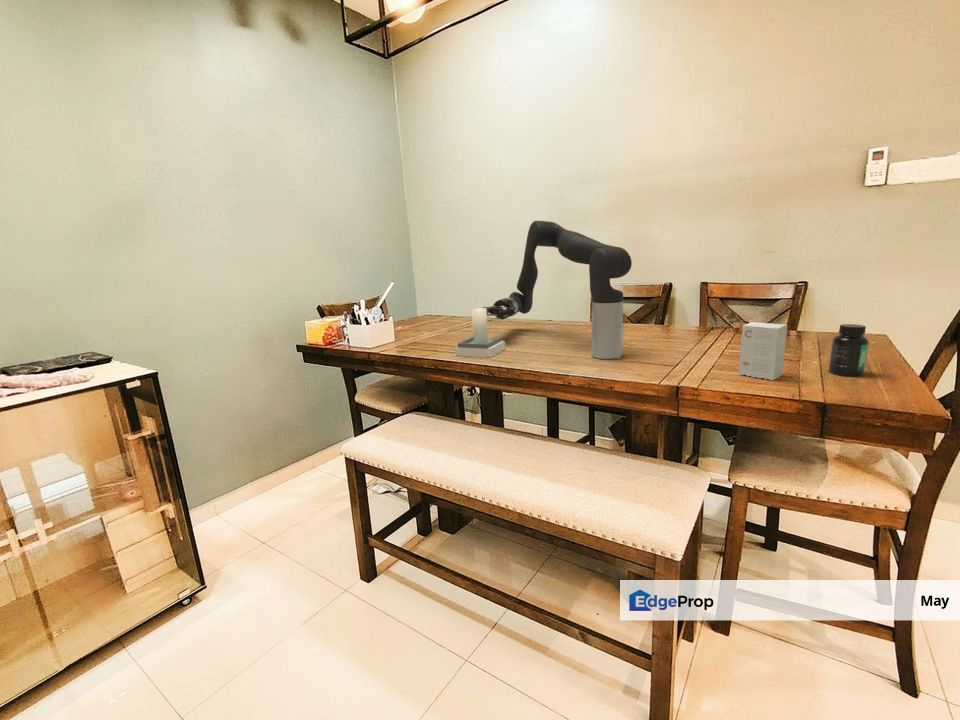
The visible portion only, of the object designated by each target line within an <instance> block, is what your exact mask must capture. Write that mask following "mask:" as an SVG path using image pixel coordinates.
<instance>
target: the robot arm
mask: <svg viewBox="0 0 960 720" xmlns="http://www.w3.org/2000/svg"><path fill="white" fill-rule="evenodd" d="M538 247H548V248H556V249H557V250H558V253H559V254H560V256H562V257H564V259H566V260H569V261H570V262H573V263H577V264H583V265H588V267H589V268H588V269H589V270H588V273H589V289H590V295H591V350H590V351H591V357H592V358H595V359H599V360H600V359H601V360H602V359H603V360H612V359H614V360H615V359H621V358H622V356H623V355H624V333H625V331H624V330H625V329H624V328H625V327H624V324H623V323H624V321H623V317H624V293H623V291H621V290H620V289H619V290H618V289H616V288H614V287H613V286H612V285H611V279H620V278H622V277H624V276H626V275H627V274H629V272H630V271H631V269H632V263H633V262H632V257H631V255H630V254H629V252H628V251H627V250H626V249H624V248H623V247H620V246H614V245H609V244H606V243H603V242H600V241H598V240H596V239H594V238H591V237H588V236H587V235H585V234H582V233H579V232H577V231H572V230H571V229H570V230H569V229H566V228H564V227H563V226H561V225H559V224H558V223H557V222H554V221H547V220H534V221H533V222H531V224H530V226H529V228H528V231H527V236H526V243H525V248H524V255H523V260H522V268H521V271H520V274H519V276H518V277H519V278H518V280H517V283H516V289H517V291H518V292H517V291H512V293H510V295H509V296H508V297H504V298H501V299H498V300H496V301H495V302H494V303H493V305H491V306H483V307H481V308H486V313H487V317H496V318H497V319H498V320H506V319H508V318H510V317H513V316H515V315H517V313H521V314H524V315H526V314H528V313H529V312H530V311H531V309H532V307H533V299H534V298H533V297H534V296H533V294H534V288H535V285H536V282H537V279H538V276H539V269H538V266H537V261H536V257H535V253H536V249H537V248H538Z"/></svg>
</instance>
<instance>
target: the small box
mask: <svg viewBox="0 0 960 720" xmlns="http://www.w3.org/2000/svg"><path fill="white" fill-rule="evenodd" d="M787 333H788V324H782V323H770V322H769V323H767V322H754V321H751V322H749V323H745V324H743V325H742V328H741V339H740V340H741V341H740V349H739V350H740V352H739V361H738V363H739V365H738V375H739V374H740V375H739V376H742V375H746V376H745V377H749V376H751V377H750V378H755V377H757V378H756V379H761V378H764V379H763V380H767V379H769V380H768V381H775V380H777V379H778V378H780V377H781V376H783V372H784V365H785V364H784V363H785V356H786V355H785V354H786V353H785V352H786V344H787V335H788V334H787ZM776 378H777V379H776ZM774 379H775V380H774Z"/></svg>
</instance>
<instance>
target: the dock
mask: <svg viewBox="0 0 960 720" xmlns="http://www.w3.org/2000/svg"><path fill="white" fill-rule="evenodd" d="M454 349H455V356H456V355H457V356H456V357H469V356H472V358H473V357H474V358H486V357H490V358H489V359H491V358H492V356H493V357H495V356H496V355H498V354H500V353H502V352H503V351H505V350H506V341H505V340H503V337H502V336H498V337H496V338H495V339H493V340H490V339H488V343H486V344H477V343H473V336H470V337H469V338H466V339H464V340H463V341H460V342H457V346H455V348H454ZM504 349H505V350H504ZM502 350H503V351H502ZM499 352H500V353H499ZM497 353H498V354H497Z"/></svg>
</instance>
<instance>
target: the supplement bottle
mask: <svg viewBox="0 0 960 720" xmlns="http://www.w3.org/2000/svg"><path fill="white" fill-rule="evenodd" d="M866 328H867V327H866V326H865V325H863V324H856V323H855V324H854V323H848V324H847V323H846V324H845V323H844V324H840V326H839V330H838V333H839V334H837V335H836V336H834V337H833V339H832V342H831V350H830V357H829V362H828V363H829V364H828V371H829V372H831V374H832V373H833V374H832V375H836V374H837V376H840V375H841V376H842V377H849V376H851V377H850V378H854V377H856V378H857V377H861V376H863V375H864V373H865V368H866V363H867V356H868V352H869V351H868V350H869V346H870V345H869V344H870V342H869V339H868V337H866V336H864V335H865V334H866ZM841 376H840V377H841Z"/></svg>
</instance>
